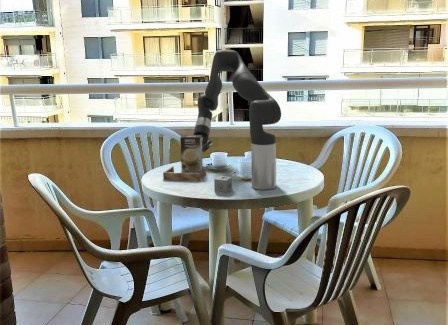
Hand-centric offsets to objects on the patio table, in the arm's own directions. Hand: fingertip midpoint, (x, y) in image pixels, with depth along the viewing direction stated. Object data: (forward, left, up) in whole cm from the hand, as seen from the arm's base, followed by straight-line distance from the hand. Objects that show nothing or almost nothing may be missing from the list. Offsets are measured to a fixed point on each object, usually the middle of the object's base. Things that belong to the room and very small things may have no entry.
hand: (196, 158), depth 189 cm
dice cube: (-21, +34, -4) cm, 40 cm away
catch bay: (0, +17, -4) cm, 17 cm away
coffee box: (0, +7, -4) cm, 8 cm away
